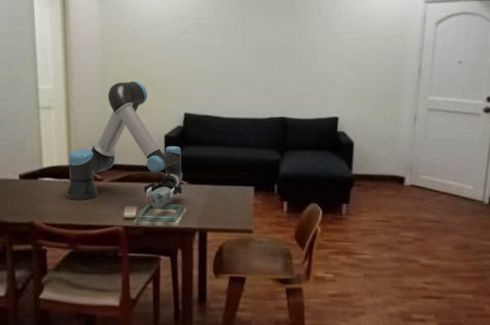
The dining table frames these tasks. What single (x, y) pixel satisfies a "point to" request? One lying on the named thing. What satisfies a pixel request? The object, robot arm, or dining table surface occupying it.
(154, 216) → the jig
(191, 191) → the dining table surface
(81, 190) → the robot arm
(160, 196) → the spool
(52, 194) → the dining table surface
